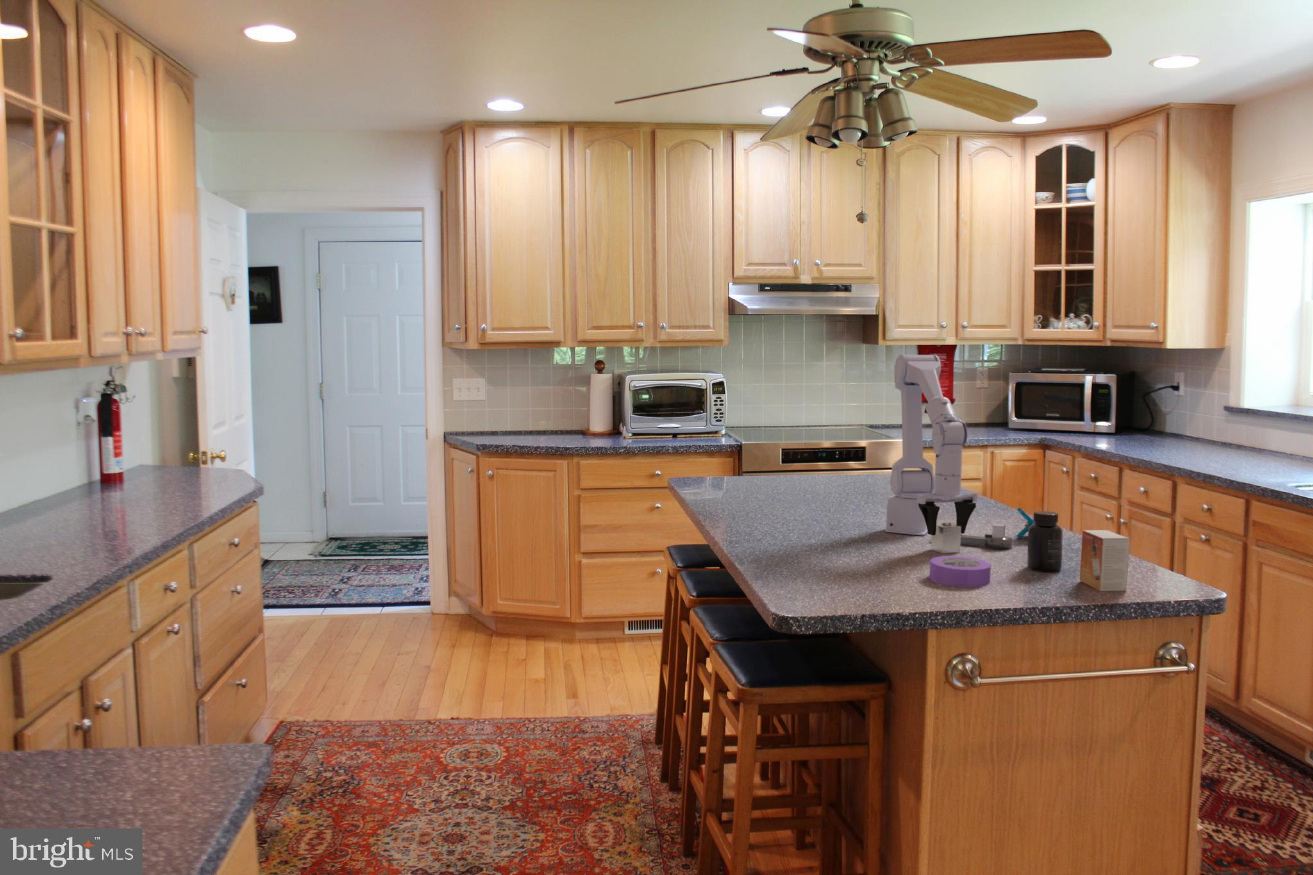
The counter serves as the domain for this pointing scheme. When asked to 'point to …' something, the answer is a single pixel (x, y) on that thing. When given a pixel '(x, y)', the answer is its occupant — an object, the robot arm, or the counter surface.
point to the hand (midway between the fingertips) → (946, 533)
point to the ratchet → (990, 539)
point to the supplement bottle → (1045, 543)
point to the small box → (1104, 560)
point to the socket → (946, 538)
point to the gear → (1029, 523)
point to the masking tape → (960, 571)
